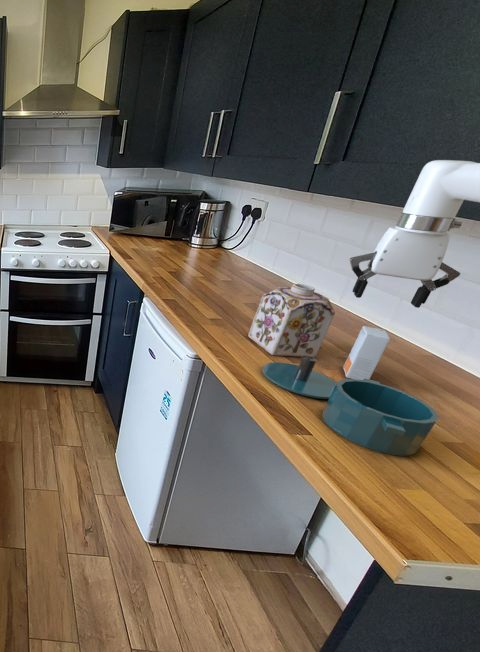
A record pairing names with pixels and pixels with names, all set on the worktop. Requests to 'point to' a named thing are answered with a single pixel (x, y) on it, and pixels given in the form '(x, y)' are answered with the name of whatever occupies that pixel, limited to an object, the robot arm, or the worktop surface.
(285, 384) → the lid
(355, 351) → the cosmetic box
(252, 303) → the worktop surface
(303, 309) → the decorative jar
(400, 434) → the pot
